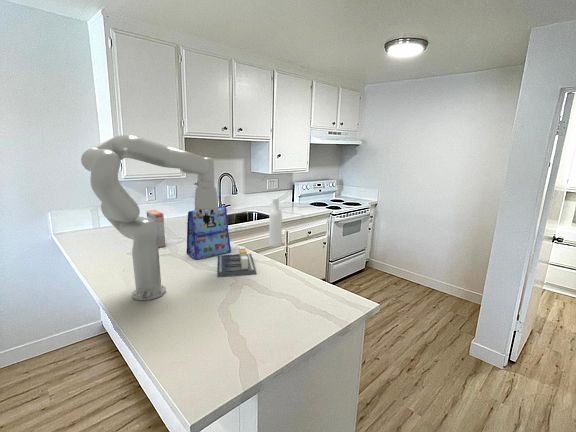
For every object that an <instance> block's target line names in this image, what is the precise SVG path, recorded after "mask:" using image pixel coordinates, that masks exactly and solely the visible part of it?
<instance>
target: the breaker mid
mask: <svg viewBox="0 0 576 432" xmlns="http://www.w3.org/2000/svg"><path fill="white" fill-rule="evenodd" d="M247 254H248V252H247V249H245V250H240V261H241V256H247Z"/></svg>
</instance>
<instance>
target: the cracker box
mask: <svg viewBox="0 0 576 432" xmlns="http://www.w3.org/2000/svg"><path fill="white" fill-rule="evenodd" d="M146 218H148V219H151V220H153V221H154V222H155V223H156V224H157V225H158V227H159V240H158V249H159V248H163V247H166V236H165V220H164V213H163V212H160V211H159V210H156V209H152V210H146Z"/></svg>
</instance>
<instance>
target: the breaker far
mask: <svg viewBox="0 0 576 432" xmlns="http://www.w3.org/2000/svg"><path fill="white" fill-rule="evenodd" d="M238 248H239V249H238V250H239V252H238V254H239V255H240V250H246V246H243V245H242V246H241V245H240V246H239V247H238Z"/></svg>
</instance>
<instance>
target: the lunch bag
mask: <svg viewBox="0 0 576 432" xmlns="http://www.w3.org/2000/svg"><path fill="white" fill-rule="evenodd" d="M217 207H218V211H216V212H213V213H212V214H211V215H210V222H208V224H207V223H206V224H205V222H203V215H202V214H201V213H200V212H197V211H195V209H194V210H189V211H188V212H187V222H186V223H187V224H186V225H187V226H186V252H185V253H186V254H187V255H189V256H191V257H192V258H193V259H194V260H195V261H196V260H200V259H201V260H202V259H205V258H210V257H214V256H215V257H216V256H221V255H226V254H228V253H229V254H230V253H232V248H231V239H230V233H229V221H228V210H227V207H226V206H224V205H223V206H217ZM211 210H212V209H211ZM205 213H206V215H207V213H208V209H205Z"/></svg>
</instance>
